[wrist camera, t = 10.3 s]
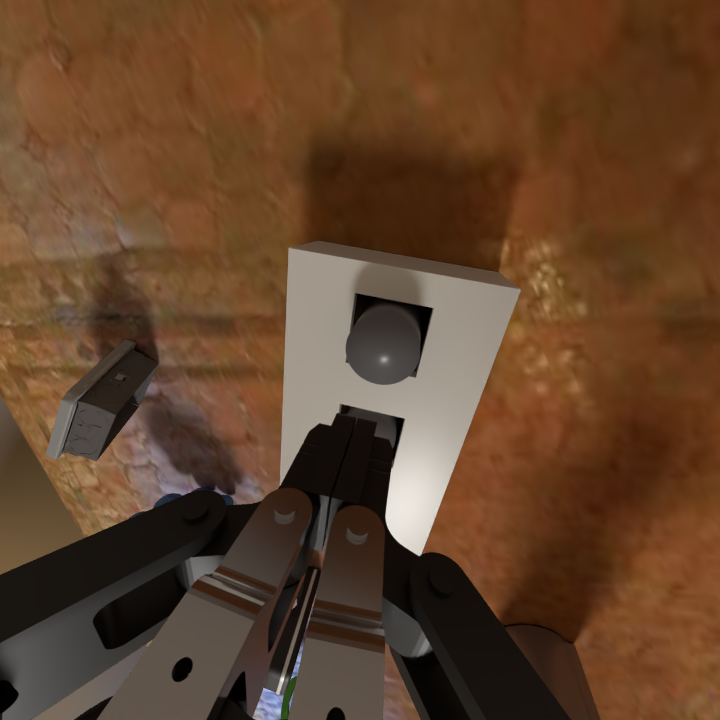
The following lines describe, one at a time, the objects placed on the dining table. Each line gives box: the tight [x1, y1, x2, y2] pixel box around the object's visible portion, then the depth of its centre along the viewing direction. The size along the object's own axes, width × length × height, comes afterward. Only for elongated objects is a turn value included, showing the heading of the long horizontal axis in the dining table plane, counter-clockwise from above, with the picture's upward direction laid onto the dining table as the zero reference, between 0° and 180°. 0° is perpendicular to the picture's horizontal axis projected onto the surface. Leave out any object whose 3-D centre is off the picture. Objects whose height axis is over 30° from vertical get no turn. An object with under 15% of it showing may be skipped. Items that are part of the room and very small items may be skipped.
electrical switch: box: [46, 339, 159, 461], centre depth 31 cm, size 9×5×9 cm, turn 143°
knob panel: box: [280, 241, 521, 556], centre depth 27 cm, size 14×26×6 cm, turn 172°
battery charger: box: [264, 567, 321, 695], centre depth 39 cm, size 7×4×11 cm, turn 166°
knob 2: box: [346, 406, 398, 448], centre depth 27 cm, size 4×4×5 cm
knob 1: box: [346, 298, 421, 385], centre depth 20 cm, size 4×4×5 cm
